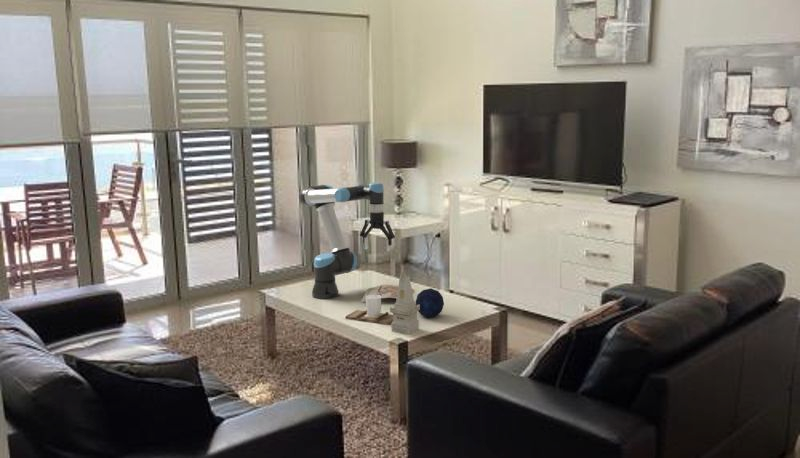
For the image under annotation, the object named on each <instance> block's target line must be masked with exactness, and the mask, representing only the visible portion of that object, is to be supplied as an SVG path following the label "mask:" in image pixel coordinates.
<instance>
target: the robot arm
mask: <svg viewBox="0 0 800 458" xmlns="http://www.w3.org/2000/svg"><path fill="white" fill-rule="evenodd" d="M298 199H299V202H300V204H301V205H303V206H305V207H308V208H310V207H314V208H315V210H316V212H318V213H319V215H320V218H321V221H322V224H323V228H324V231H325V233H326V237H327V240H328V243H329V247H330V249H331V250H330V253H329V252H328V253H321V254H318V255H316V256H315V257H314V259H313V269H314V285H313V288H312V291H311V297H312V298H315V299H319V300H322V299H323V300H324V299H325V300H327V299H333V298H337V297H339V295H340V294H339V292H340V291H339V289H338V284H337V283H336V276H340V275H344V274H349V273H351V272H353V271H355V270H356V268H357V265H358V259H357V258H358V257H357V255H356V254H355V252H353V251H351V250H350V247H349V246H347V245H346V242H345V240H344V237H343V233H342V230H341V226H340V223H339V221H338V217H337V214H336V211H335V208H334V207H335V205H336V203H346V202H352V201H360V200H361V201H362V200H368V201H369V211H370V212H369V219H368V218H367V219H365V220H364V223H363V227H362V229H361V231H360V233H359V236H360V237H362V238H363V240H362V241H363V242H362V243H363V244H364V250H368V249H369V237H368V235H369V234H370V233H371V232H372V230H373V229H374V230H375V229H376V230H381V231H382V233H383V234H384V236H385V237H386V252H391V246H392V245H393V243H392V241H393V239H395V238H396V235H395V234H394V232H393V229H392V227H391V225H390V221H389V220H386V221H385V219H384V218H385V217H384V216H385V213H384V209H385V207H384V200H385V199H384V184H383V183H382V182H371V183H369V185H364V184H357V185H355V186H348V187H336V188H334V187H333V186H331V185H329V184H320V185H313V186H307V187H304V188H302V189H301V190H300V191H299V194H298ZM369 224H370V225H369ZM368 226H369V227H368Z"/></svg>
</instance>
